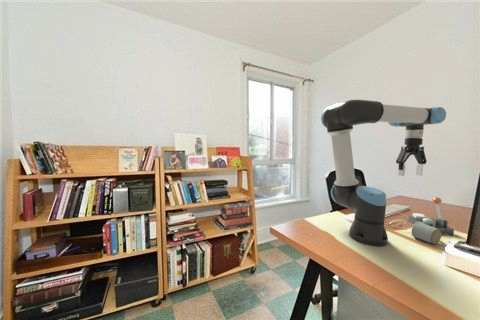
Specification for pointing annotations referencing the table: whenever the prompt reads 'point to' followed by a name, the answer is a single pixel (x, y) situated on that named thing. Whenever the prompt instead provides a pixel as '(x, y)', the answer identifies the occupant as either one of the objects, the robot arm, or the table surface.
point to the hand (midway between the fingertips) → (410, 175)
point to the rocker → (418, 216)
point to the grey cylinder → (426, 233)
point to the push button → (428, 221)
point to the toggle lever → (438, 207)
